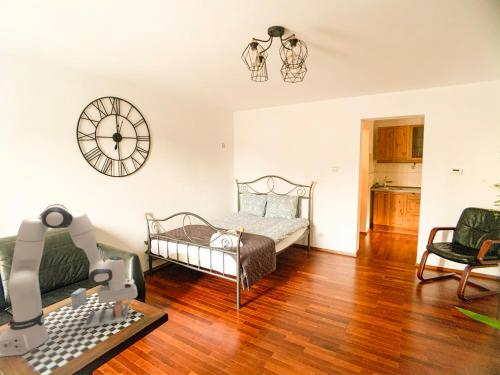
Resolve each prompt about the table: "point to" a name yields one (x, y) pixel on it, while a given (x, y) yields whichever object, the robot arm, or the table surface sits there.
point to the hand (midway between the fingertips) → (119, 307)
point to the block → (119, 308)
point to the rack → (105, 317)
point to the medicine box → (78, 297)
